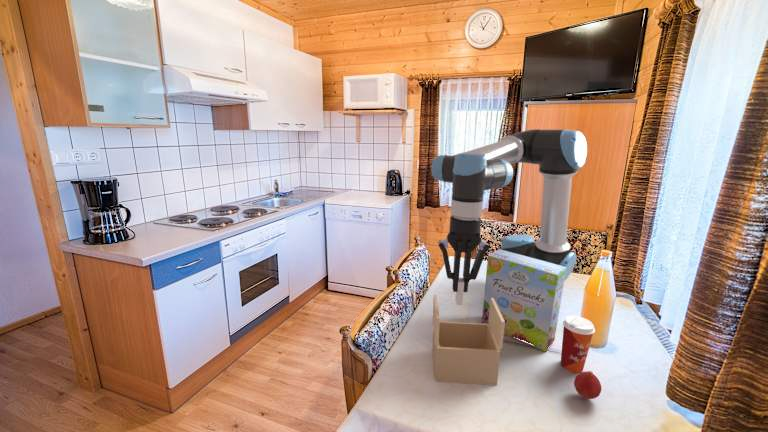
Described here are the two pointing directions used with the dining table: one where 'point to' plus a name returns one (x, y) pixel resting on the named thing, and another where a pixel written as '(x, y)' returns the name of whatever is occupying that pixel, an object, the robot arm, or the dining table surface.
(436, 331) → the flap
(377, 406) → the dining table surface
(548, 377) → the dining table surface
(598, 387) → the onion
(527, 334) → the snack box
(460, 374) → the carton
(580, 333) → the paper cup
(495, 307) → the flap
